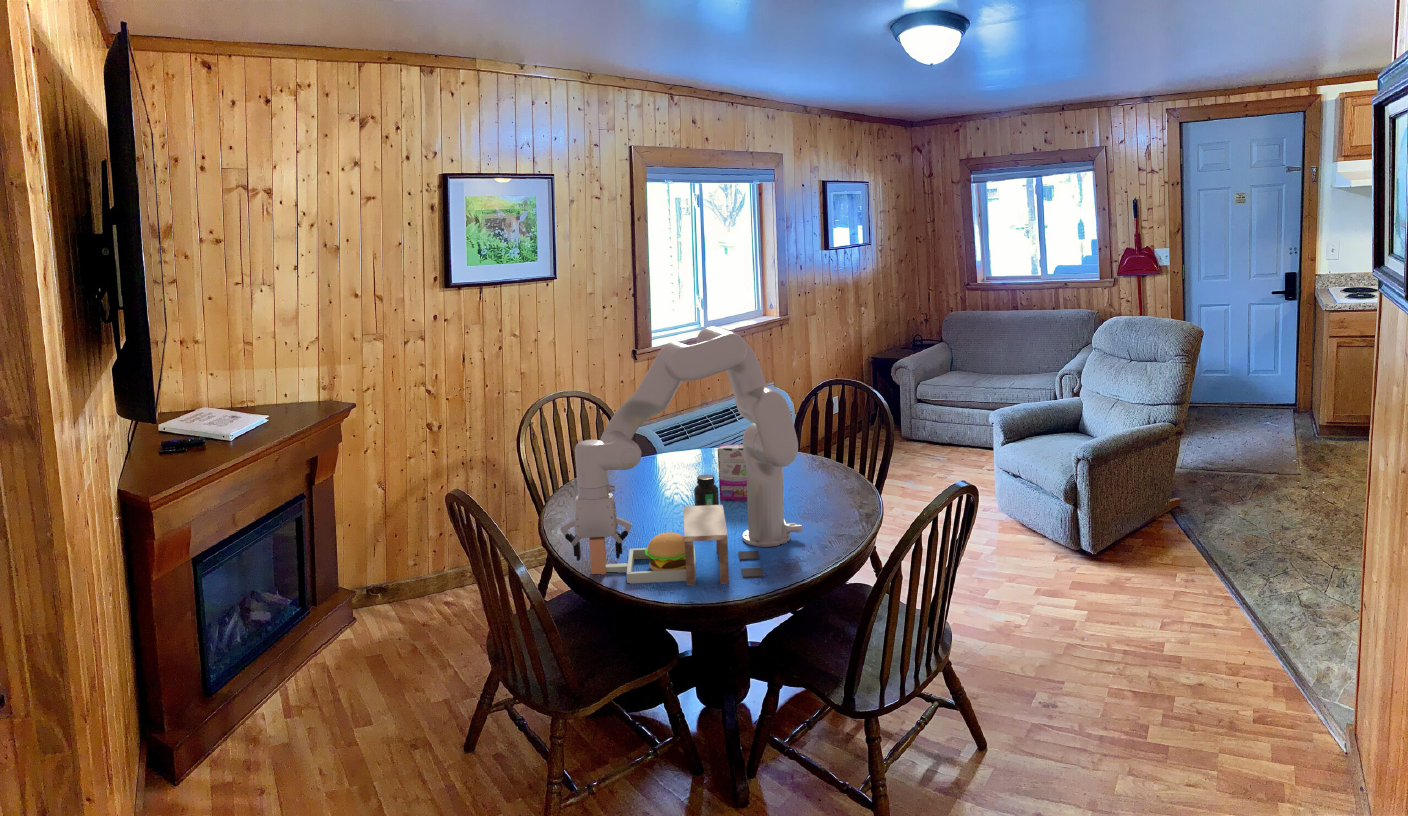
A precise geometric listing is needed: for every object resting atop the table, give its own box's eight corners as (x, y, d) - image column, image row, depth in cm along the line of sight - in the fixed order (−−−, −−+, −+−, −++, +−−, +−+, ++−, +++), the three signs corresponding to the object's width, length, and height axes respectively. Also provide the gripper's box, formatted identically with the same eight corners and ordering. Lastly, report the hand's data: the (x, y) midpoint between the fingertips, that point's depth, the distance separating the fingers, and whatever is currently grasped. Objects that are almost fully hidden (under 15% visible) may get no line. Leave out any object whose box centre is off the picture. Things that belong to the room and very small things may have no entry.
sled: (694, 555, 239) (693, 521, 237) (696, 580, 224) (694, 544, 222) (594, 559, 239) (592, 526, 237) (589, 585, 223) (586, 549, 221)
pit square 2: (761, 568, 229) (761, 567, 229) (763, 577, 224) (763, 575, 224) (741, 569, 229) (741, 568, 229) (742, 578, 224) (742, 576, 224)
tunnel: (724, 549, 242) (722, 504, 239) (729, 583, 221) (727, 534, 219) (685, 551, 242) (683, 506, 239) (686, 585, 221) (684, 536, 218)
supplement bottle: (715, 522, 263) (713, 481, 260) (691, 520, 265) (690, 479, 262) (722, 514, 269) (720, 474, 266) (699, 512, 271) (698, 472, 268)
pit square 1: (758, 552, 240) (758, 550, 240) (759, 559, 235) (759, 558, 235) (738, 552, 240) (738, 551, 240) (739, 560, 235) (739, 559, 235)
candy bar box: (758, 496, 283) (756, 443, 279) (756, 501, 278) (755, 448, 275) (721, 495, 285) (719, 443, 281) (719, 501, 280) (717, 448, 276)
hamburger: (638, 563, 235) (636, 531, 234) (682, 554, 240) (681, 523, 238) (655, 580, 225) (653, 546, 223) (701, 571, 229) (700, 537, 227)
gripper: (630, 484, 230) (634, 550, 234) (559, 488, 230) (565, 553, 234) (628, 494, 223) (633, 561, 227) (555, 498, 223) (561, 565, 226)
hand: (598, 557), depth 230 cm, fingers open, 9 cm apart
